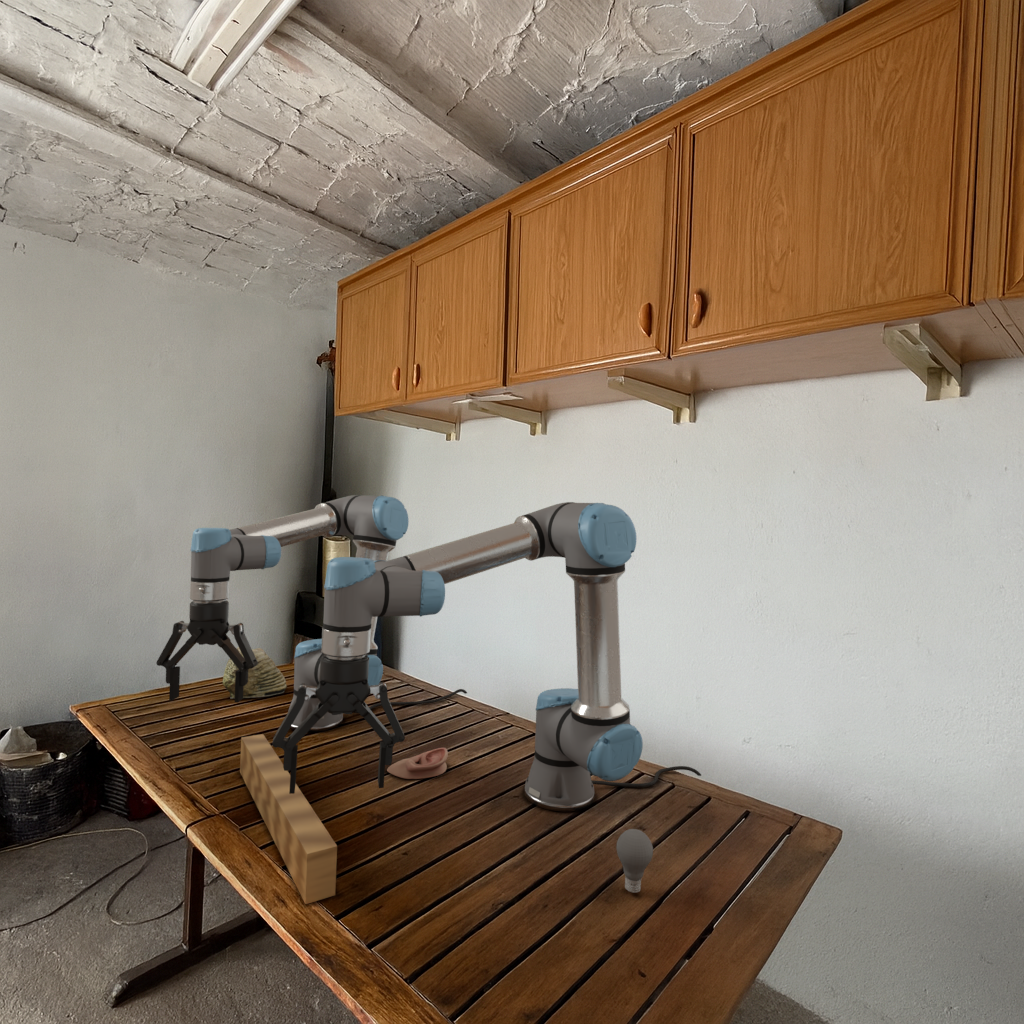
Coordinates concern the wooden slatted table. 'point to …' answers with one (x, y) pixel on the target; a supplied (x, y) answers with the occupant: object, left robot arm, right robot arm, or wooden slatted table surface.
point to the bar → (290, 820)
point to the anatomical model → (421, 765)
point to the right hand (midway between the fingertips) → (337, 787)
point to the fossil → (256, 677)
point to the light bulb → (634, 857)
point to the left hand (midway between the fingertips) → (206, 699)
